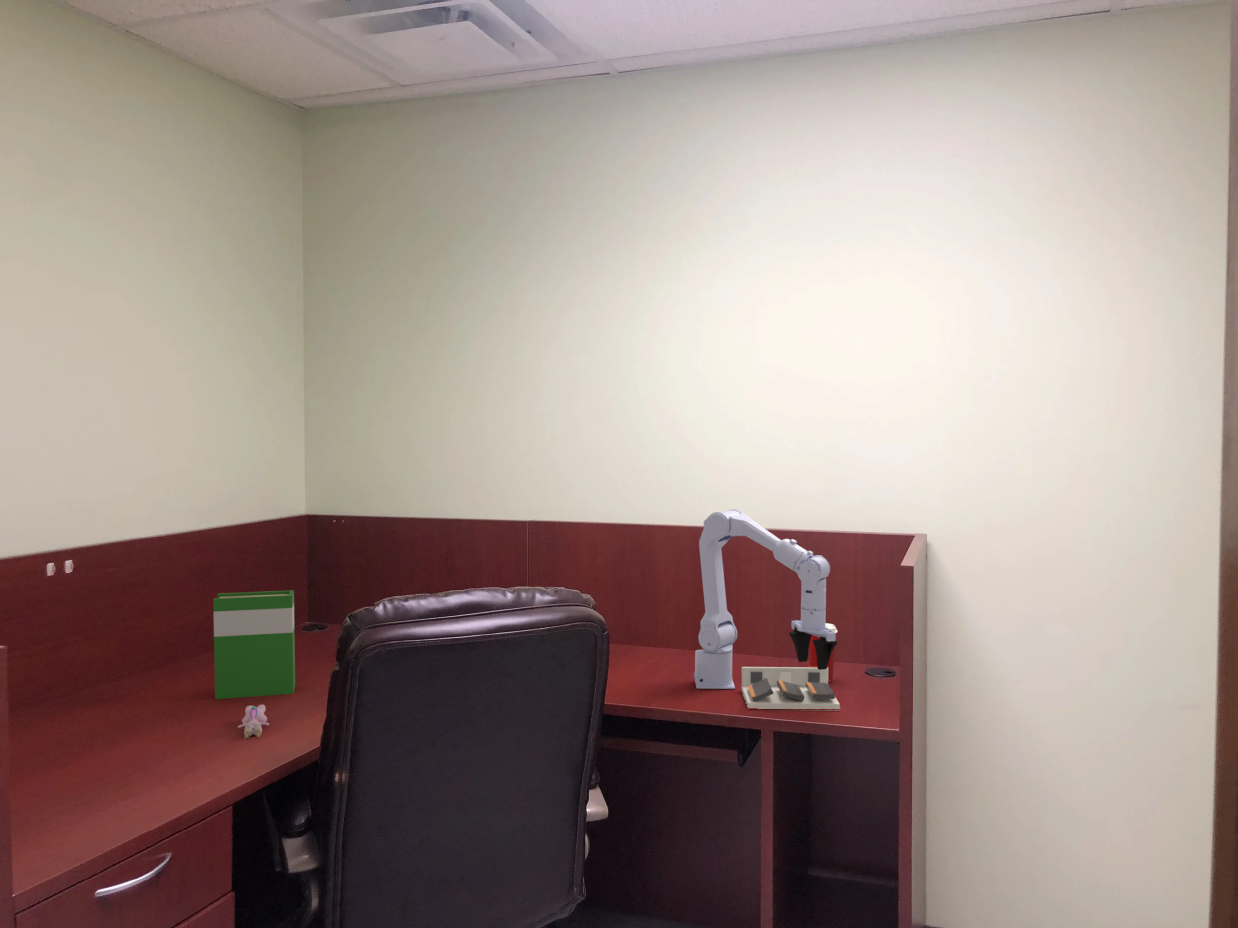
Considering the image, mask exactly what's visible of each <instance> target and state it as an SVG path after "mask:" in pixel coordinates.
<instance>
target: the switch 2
mask: <svg viewBox="0 0 1238 928" xmlns="http://www.w3.org/2000/svg"><path fill="white" fill-rule="evenodd" d="M776 684H777V686H778V688H779V690H780V692H781V694H782V696H786V697H790V698H793V699H797V700H801V701H803V700H804V695H803V693H802V691H801V689H800V688H799V686H798V685H796V684H792V683H788V682H785V681H781V680H777V683H776Z"/></svg>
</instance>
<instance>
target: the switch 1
mask: <svg viewBox="0 0 1238 928" xmlns="http://www.w3.org/2000/svg"><path fill="white" fill-rule="evenodd" d="M748 689H749V691H750V694H751V697H752V699H753V701H754V702H756V701H758V700H760V699H763V698H765V697H767V696H769V695H772V694H774V693H773V691H772V689H771V686H770V684H769V682H768V680H767V678H765V679H763V680H761V681H758V682H756V683H754V684H752V685H749V686H748Z"/></svg>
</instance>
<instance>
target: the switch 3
mask: <svg viewBox="0 0 1238 928" xmlns="http://www.w3.org/2000/svg"><path fill="white" fill-rule="evenodd" d="M806 688H807V689H808V691H809V693H810V694H811V696H812V698H816V699H835V698H836V694H835V692H834V691H833V689H832V688H831V687H830V685H829V683H828V684H827V683H816V682H806Z"/></svg>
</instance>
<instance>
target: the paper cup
mask: <svg viewBox="0 0 1238 928" xmlns="http://www.w3.org/2000/svg"><path fill="white" fill-rule="evenodd" d="M825 626H826V627H827V628H828V629H830V630H831V631H833V632H835V633H836V634H837V633H838V629H837V628H836V625H835V624H833V623H826V622H825ZM816 639H820V637H817V636H814V635H812V637H811V640H810V644H809V651H808V658H809V667H810V668H818V667H817V656H816V650H815V646H814V644H813V640H816ZM835 640H837V637H836V638H835ZM835 655H836V646H835V647H834V649H833V651H832V653H831V656H830V659H829V662H828V666H827V668H828V681H829V680H832V679H833V680H834V671H835V670H834V669H835Z"/></svg>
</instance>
